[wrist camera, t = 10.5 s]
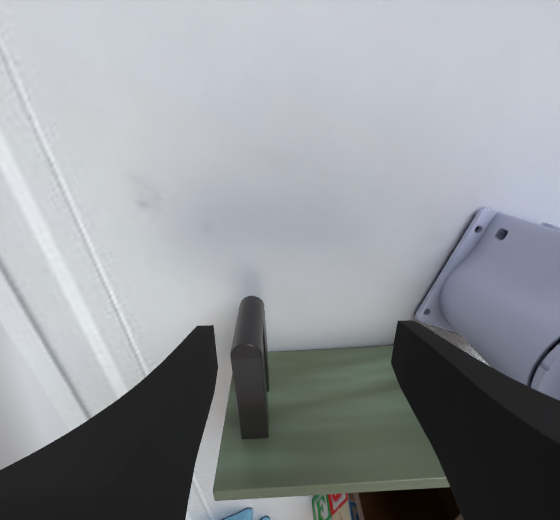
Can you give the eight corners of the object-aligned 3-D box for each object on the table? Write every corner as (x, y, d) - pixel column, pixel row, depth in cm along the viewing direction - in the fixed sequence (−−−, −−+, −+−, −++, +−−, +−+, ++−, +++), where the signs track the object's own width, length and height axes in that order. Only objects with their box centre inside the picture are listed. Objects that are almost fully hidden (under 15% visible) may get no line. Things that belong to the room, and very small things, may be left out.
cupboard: (345, 459, 30) (381, 617, 20) (416, 348, 25) (512, 485, 15) (430, 478, 31) (503, 633, 21) (513, 377, 26) (659, 519, 16)
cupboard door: (226, 279, 22) (190, 388, 12) (422, 269, 22) (541, 368, 12) (236, 361, 24) (214, 501, 15) (410, 351, 25) (498, 485, 15)
